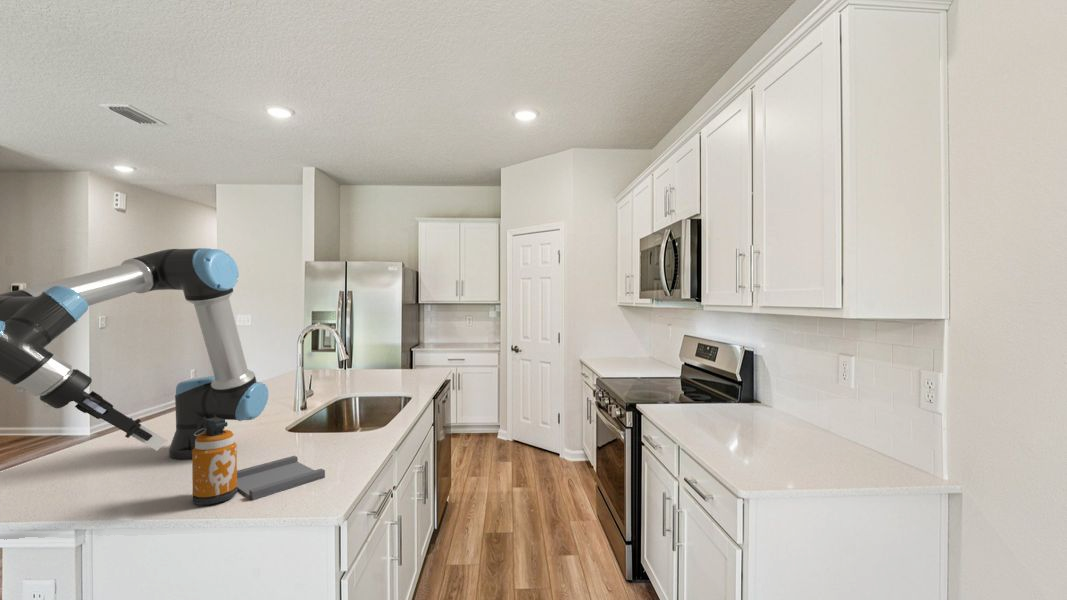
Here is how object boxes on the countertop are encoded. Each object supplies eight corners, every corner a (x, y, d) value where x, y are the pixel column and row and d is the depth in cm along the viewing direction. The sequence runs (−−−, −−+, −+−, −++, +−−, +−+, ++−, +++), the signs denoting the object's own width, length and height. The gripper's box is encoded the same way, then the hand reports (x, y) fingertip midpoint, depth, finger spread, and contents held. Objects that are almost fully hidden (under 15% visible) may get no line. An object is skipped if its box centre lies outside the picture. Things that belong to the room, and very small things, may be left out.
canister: (203, 510, 108) (202, 424, 108) (181, 499, 114) (181, 417, 114) (244, 496, 116) (243, 415, 115) (222, 486, 121) (221, 409, 121)
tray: (225, 481, 125) (225, 473, 125) (294, 462, 139) (294, 455, 139) (252, 500, 113) (252, 492, 113) (324, 477, 127) (324, 470, 127)
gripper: (33, 393, 95) (139, 453, 108) (40, 403, 87) (154, 466, 100) (69, 364, 99) (167, 425, 112) (80, 371, 91) (184, 436, 104)
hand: (161, 444), depth 106 cm, fingers closed
